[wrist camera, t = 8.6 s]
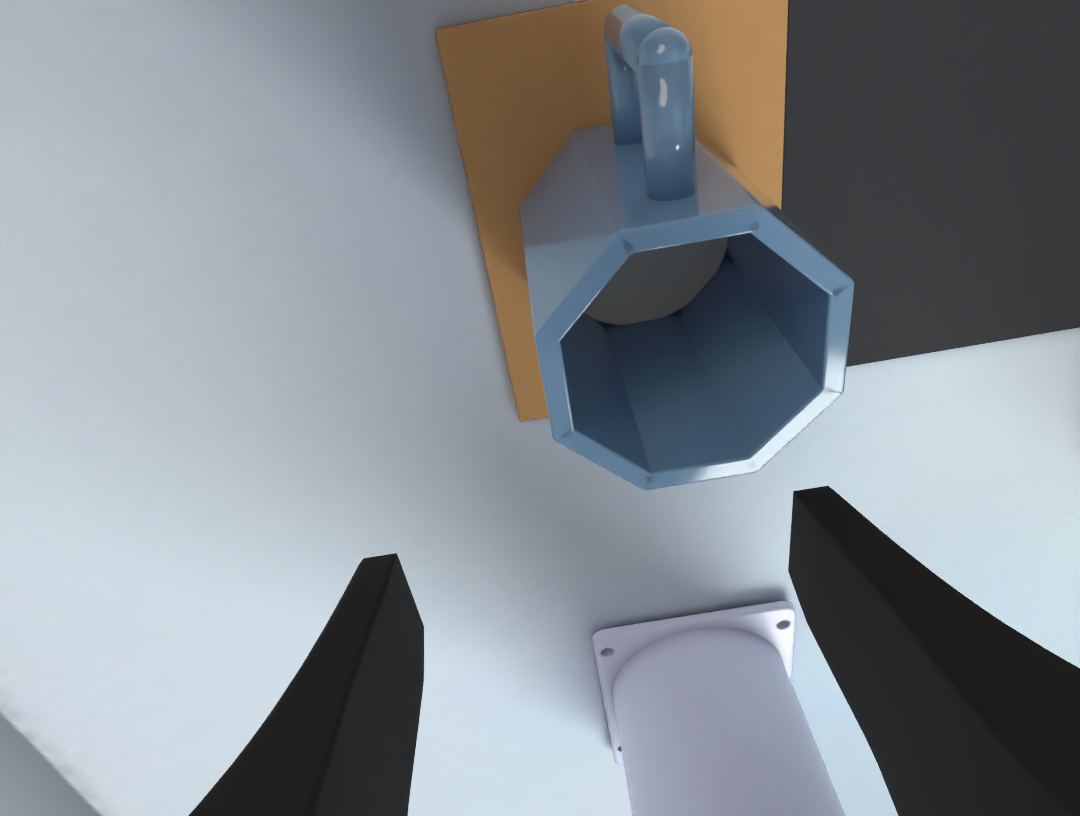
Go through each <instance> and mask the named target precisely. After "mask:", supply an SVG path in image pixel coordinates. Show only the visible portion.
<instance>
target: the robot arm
mask: <svg viewBox="0 0 1080 816" xmlns="http://www.w3.org/2000/svg"><path fill="white" fill-rule="evenodd" d="M788 571H789V574H790V577H791V580H792V583H793V585H794V588H795V591H796V594H797V597H798V600H799V602H800V605H801V607H802V610H803V613H804V615H805V618H806V621H807V623H808V625H809V627H810V629H811V631H812V633H813V635H814V637H815V639H816V641H817V643H818V645H819V647H820V649H821V651H822V653H823V655H824V657H825V659H826V661H827V663H828V665H829V667H830V669H831V671H832V673H833V675H834V677H835V679H836V681H837V683H838V685H839V687H840V688H841V690H842V692H843V694H844V696H845V698H846V700H847V702H848V704H849V706H850V708H851V710H852V712H853V714H854V716H855V718H856V720H857V722H858V724H859V726H860V727H861V729H862V731H863V733H864V735H865V737H866V739H867V742H868V744H869V746H870V748H871V750H872V752H873V754H874V757H875V759H876V761H877V763H878V766H879V768H880V770H881V773H882V776H883V778H884V781H885V783H886V786H887V788H888V791H889V793H890V796H891V798H892V801H893V803H894V806H895V808H896V811H897V813H898V816H1080V668H1078V667H1076V666H1074V665H1073V664H1071V663H1069V662H1067V661H1066V660H1064V659H1062V658H1060V657H1059V656H1057V655H1055V654H1053V653H1052V652H1050V651H1048V650H1047V649H1045V648H1043V647H1042V646H1040V645H1038V644H1037V643H1035V642H1034V641H1032V640H1030V639H1029V638H1027V637H1026V636H1024V635H1022V634H1021V633H1019V632H1017V631H1016V630H1014V629H1013V628H1011V627H1009V626H1008V625H1006V624H1005V623H1003V622H1002V621H1000V620H999V619H997V618H996V617H994V616H993V615H991V614H990V613H988V612H987V611H985V610H984V609H982V608H981V607H979V606H978V605H977V604H975V603H974V602H972V601H971V600H970V599H968V598H967V597H965V596H964V595H963V594H961V593H960V592H958V591H957V590H956V589H954V588H953V587H951V586H950V585H949V584H947V583H946V582H945V581H943V580H942V579H941V578H939V577H938V576H937V575H935V574H934V573H933V572H932V571H930V570H929V569H928V568H927V567H925V566H924V565H923V564H921V563H920V562H919V561H918V560H916V559H915V558H914V557H913V556H911V555H910V554H909V553H907V552H906V551H905V550H904V549H902V548H901V547H900V546H899V545H897V544H896V543H895V542H894V541H893V540H891V539H890V538H889V537H888V536H887V535H885V534H884V533H883V532H882V531H881V530H879V529H878V528H877V527H876V526H875V525H873V524H872V523H871V522H870V521H869V520H868V519H866V518H865V517H864V516H863V515H862V514H861V513H859V512H858V511H857V510H856V509H855V508H854V507H853V506H851V505H850V504H849V503H848V502H847V501H846V500H844V499H843V498H842V497H841V496H840V495H839V494H837V493H836V492H835V491H834V490H833V489H831V488H830V487H829V486H824V487H818V488H812V489H805V490H799V491H794V493H793V508H792V524H791V539H790V554H789V569H788ZM795 622H796V611H795V609H794V607H793V604H792V603H790V602H788V601H777V602H770V603H764V604H758V605H751V606H745V607H739V608H732V609H726V610H720V611H714V612H707V613H701V614H695V615H688V616H682V617H676V618H669V619H663V620H657V621H650V622H644V623H638V624H631V625H625V626H619V627H613V628H606V629H602V630H599V631H597V632H596V633H595V634H594V635H593V646H594V651H595V657H596V662H597V667H598V673H599V678H600V684H601V689H602V695H603V700H604V705H605V711H606V716H607V722H608V727H609V732H610V738H611V743H612V749H613V754H614V760H615V762H616V763H617V764H619V765H622V766H624V768H625V774H626V780H627V786H628V792H629V798H630V804H631V810H632V816H845V814H844V811H843V809H842V806H841V804H840V801H839V799H838V797H837V794H836V792H835V789H834V787H833V784H832V782H831V779H830V777H829V774H828V772H827V769H826V767H825V764H824V762H823V760H822V757H821V755H820V752H819V750H818V747H817V745H816V742H815V740H814V737H813V735H812V732H811V730H810V728H809V725H808V723H807V720H806V718H805V715H804V713H803V710H802V708H801V705H800V703H799V700H798V698H797V696H796V693H795V691H794V688H793V686H792V683H791V682H792V667H793V652H794V637H795ZM423 682H424V626H423V623H422V620H421V618H420V615H419V612H418V610H417V607H416V604H415V601H414V599H413V596H412V593H411V591H410V588H409V585H408V583H407V580H406V577H405V574H404V572H403V569H402V566H401V564H400V561H399V558H398V556H397V553H395V554H389V555H383V556H376V557H370V558H364V559H363V560H362V561H361V563H360V564H359V566H358V568H357V570H356V571H355V573H354V575H353V577H352V579H351V581H350V583H349V585H348V586H347V588H346V590H345V592H344V594H343V596H342V598H341V599H340V601H339V603H338V605H337V607H336V608H335V610H334V612H333V614H332V616H331V617H330V619H329V621H328V623H327V624H326V626H325V628H324V630H323V631H322V633H321V635H320V636H319V638H318V640H317V641H316V643H315V645H314V646H313V648H312V650H311V651H310V653H309V655H308V656H307V658H306V660H305V661H304V663H303V665H302V666H301V668H300V669H299V671H298V672H297V674H296V675H295V677H294V678H293V680H292V681H291V683H290V684H289V686H288V688H287V689H286V691H285V692H284V694H283V695H282V697H281V698H280V700H279V701H278V703H277V704H276V706H275V707H274V709H273V710H272V711H271V713H270V714H269V716H268V717H267V719H266V720H265V721H264V723H263V724H262V726H261V727H260V728H259V730H258V731H257V732H256V734H255V735H254V736H253V738H252V739H251V740H250V742H249V743H248V744H247V746H246V747H245V748H244V750H243V751H242V752H241V753H240V755H239V756H238V757H237V759H236V760H235V761H234V762H233V764H232V765H231V766H230V767H229V769H228V770H227V771H226V772H225V773H224V775H223V776H222V777H221V778H220V779H219V781H218V782H217V783H216V784H215V785H214V787H213V788H212V789H211V790H210V791H209V793H208V794H207V795H206V796H205V797H204V799H203V800H202V801H201V802H200V803H199V805H198V806H197V807H196V808H195V809H194V810H193V811H192V812H191V814H190V815H189V816H407V815H408V803H409V795H410V787H411V780H412V772H413V764H414V756H415V748H416V740H417V732H418V724H419V716H420V707H421V699H422V691H423Z"/></svg>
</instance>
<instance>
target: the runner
mask: <svg viewBox="0 0 1080 816" xmlns="http://www.w3.org/2000/svg"><path fill="white" fill-rule="evenodd" d="M623 4H630V5H634V6H636V7H638V8H639V9H641V10H643V11H645V12H647V13H649V14H650V15H652V16H654V17H656V18H658V19H660V20H661V21H663V22H665V23H667V24H669V25H671V26H672V27H674V28H676V29H678V30H680V31H681V32H682V33H684V34H685V36H686V37H687V38H688V40H689V42H690V44H691V47H692V52H693V78H694V108H695V133H696V134H697V135H698V136H699V137H700V138H702V139H703V140H704V141H705V142H707V143H708V144H709V145H710V146H711V147H713V148H714V149H715V150H716V151H717V152H719V153H720V154H721V155H722V156H723V157H725V158H726V159H727V160H728V161H730V162H731V163H732V164H733V165H734V166H736V167H737V168H738V169H739V170H740V171H741V172H742V173H743V174H744V175H745V176H746V177H747V178H748V179H749V180H750V181H751V182H752V183H753V184H754V185H756V186H757V187H758V188H759V189H760V190H761V191H762V192H763V193H764V194H765V195H766V196H767V197H768V198H769V199H770V200H771V201H772V202H773V203H774V204H775V205H776V206H777V207H778V208H779V209H780V210H781V211H783V212H784V213H785V214H786V215H787V216H788V217H789V218H790V219H791V220H792V221H793V222H794V223H795V224H796V225H797V226H798V227H799V228H800V229H801V230H802V231H803V232H804V233H805V234H806V235H807V236H808V237H810V238H811V239H812V240H813V241H814V242H815V243H816V244H817V245H818V246H819V247H820V248H821V249H822V250H823V251H824V252H825V253H826V254H827V255H828V256H829V257H830V258H831V259H832V260H833V261H834V262H835V263H837V264H838V265H839V266H840V267H841V268H842V269H843V270H844V271H845V272H846V273H847V274H848V275H849V276H850V277H851V278H852V279H853V282H854V292H853V302H852V312H851V322H850V332H849V343H848V353H847V363H846V367H848V366H854V365H860V364H865V363H871V362H877V361H883V360H889V359H895V358H901V357H907V356H913V355H919V354H925V353H930V352H936V351H942V350H948V349H954V348H960V347H966V346H972V345H978V344H984V343H990V342H995V341H1001V340H1007V339H1013V338H1019V337H1025V336H1031V335H1037V334H1043V333H1049V332H1055V331H1060V330H1066V329H1072V328H1078V327H1080V0H587V1H582V2H576V3H571V4H566V5H561V6H555V7H550V8H545V9H539V10H534V11H529V12H524V13H518V14H513V15H508V16H502V17H497V18H492V19H487V20H481V21H476V22H471V23H465V24H460V25H455V26H450V27H444V28H439V29H436V32H435V33H436V37H437V42H438V46H439V51H440V56H441V60H442V65H443V70H444V74H445V79H446V83H447V88H448V93H449V97H450V102H451V107H452V111H453V116H454V120H455V125H456V130H457V134H458V139H459V144H460V148H461V153H462V157H463V162H464V167H465V171H466V176H467V180H468V185H469V190H470V194H471V199H472V204H473V208H474V213H475V217H476V222H477V227H478V231H479V236H480V241H481V245H482V250H483V254H484V259H485V264H486V268H487V273H488V278H489V282H490V287H491V291H492V296H493V301H494V305H495V310H496V314H497V319H498V324H499V328H500V333H501V338H502V342H503V347H504V351H505V356H506V361H507V365H508V370H509V375H510V379H511V384H512V388H513V393H514V398H515V402H516V407H517V412H518V416H519V421H520V422H523V421H528V420H534V419H540V418H546V417H549V414H548V409H547V403H546V398H545V392H544V387H543V382H542V376H541V371H540V365H539V360H538V355H537V349H536V344H535V338H534V330H533V322H532V314H531V306H530V298H529V290H528V282H527V274H526V266H525V258H524V250H523V242H522V234H521V226H520V218H519V206H520V205H521V204H522V202H523V201H524V199H525V198H526V196H527V195H528V194H529V192H530V191H531V189H532V188H533V187H534V185H535V184H536V182H537V181H538V180H539V178H540V177H541V175H542V174H543V173H544V171H545V170H546V168H547V167H548V165H549V164H550V163H551V161H552V160H553V158H554V157H555V156H556V154H557V153H558V151H559V150H560V149H561V147H562V146H563V144H564V143H565V141H566V140H567V139H568V137H569V136H570V134H571V133H572V132H573V131H575V130H576V129H581V128H586V127H592V126H597V125H603V124H608V123H612V117H611V107H610V96H609V86H608V75H607V65H606V55H605V44H604V34H603V27H604V22H605V19H606V17H607V15H608V14H609V13H610V11H611V10H613V9H614V8H615V7H617V6H619V5H623Z"/></svg>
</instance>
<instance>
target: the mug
mask: <svg viewBox="0 0 1080 816" xmlns="http://www.w3.org/2000/svg"><path fill="white" fill-rule="evenodd" d="M603 34H604V44H605V55H606V65H607V75H608V86H609V96H610V107H611V117H612V123H608V124H603V125H597V126H592V127H586V128H581V129H576V130H575V131H573V132H572V133H571V134H570V136H569V137H568V139H567V140H566V141H565V143H564V144H563V146H562V147H561V149H560V150H559V151H558V153H557V154H556V156H555V157H554V158H553V160H552V161H551V163H550V164H549V165H548V167H547V168H546V170H545V171H544V173H543V174H542V175H541V177H540V178H539V180H538V181H537V182H536V184H535V185H534V187H533V188H532V189H531V191H530V192H529V194H528V195H527V196H526V198H525V199H524V201H523V202H522V204H521V205H520V206H519V218H520V226H521V234H522V242H523V250H524V258H525V266H526V274H527V282H528V290H529V298H530V306H531V314H532V322H533V330H534V338H535V344H536V349H537V355H538V360H539V365H540V371H541V376H542V382H543V387H544V392H545V398H546V403H547V409H548V414H549V419H550V425H551V430H552V436H553V439H554V440H555V441H556V442H557V443H559V444H561V445H563V446H565V447H566V448H568V449H570V450H572V451H574V452H575V453H577V454H579V455H581V456H583V457H585V458H586V459H588V460H590V461H592V462H594V463H595V464H597V465H599V466H601V467H603V468H605V469H606V470H608V471H610V472H612V473H614V474H615V475H617V476H619V477H621V478H623V479H625V480H626V481H628V482H630V483H632V484H634V485H635V486H637V487H639V488H641V489H643V490H644V489H645V490H650V489H657V488H663V487H669V486H675V485H681V484H687V483H693V482H699V481H705V480H711V479H718V478H724V477H730V476H736V475H742V474H748V473H754V472H756V471H758V470H760V469H761V468H762V467H763V466H764V465H765V464H766V463H767V462H768V461H769V460H770V459H772V458H773V457H774V456H775V455H776V454H777V453H778V452H779V451H780V450H781V449H783V448H784V447H785V446H786V445H787V444H788V443H789V442H790V441H791V440H792V439H793V438H795V437H796V436H797V435H798V434H799V433H800V432H801V431H802V430H803V429H804V428H805V427H807V426H808V425H809V424H810V423H811V422H812V421H813V420H814V419H815V418H816V417H817V416H819V415H820V414H821V413H822V412H823V411H824V410H825V409H826V408H827V407H828V406H829V405H831V404H832V403H833V402H834V401H835V400H836V399H837V398H838V397H839V396H840V395H841V394H842V392H843V391H844V383H845V373H846V363H847V353H848V343H849V332H850V322H851V312H852V302H853V292H854V282H853V279H852V278H851V277H850V276H849V275H848V274H847V273H846V272H845V271H844V270H843V269H842V268H841V267H840V266H839V265H838V264H837V263H835V262H834V261H833V260H832V259H831V258H830V257H829V256H828V255H827V254H826V253H825V252H824V251H823V250H822V249H821V248H820V247H819V246H818V245H817V244H816V243H815V242H814V241H813V240H812V239H811V238H810V237H808V236H807V235H806V234H805V233H804V232H803V231H802V230H801V229H800V228H799V227H798V226H797V225H796V224H795V223H794V222H793V221H792V220H791V219H790V218H789V217H788V216H787V215H786V214H785V213H784V212H783V211H781V210H780V209H779V208H778V207H777V206H776V205H775V204H774V203H773V202H772V201H771V200H770V199H769V198H768V197H767V196H766V195H765V194H764V193H763V192H762V191H761V190H760V189H759V188H758V187H757V186H756V185H754V184H753V183H752V182H751V181H750V180H749V179H748V178H747V177H746V176H745V175H744V174H743V173H742V172H741V171H740V170H739V169H738V168H737V167H736V166H734V165H733V164H732V163H731V162H730V161H728V160H727V159H726V158H725V157H723V156H722V155H721V154H720V153H719V152H717V151H716V150H715V149H714V148H713V147H711V146H710V145H709V144H708V143H707V142H705V141H704V140H703V139H702V138H700V137H699V136H698V135H697V134H696V133H695V108H694V78H693V52H692V47H691V44H690V42H689V40H688V38H687V37H686V36H685V34H684V33H682V32H681V31H680V30H678V29H676V28H674V27H672V26H671V25H669V24H667V23H665V22H663V21H661V20H660V19H658V18H656V17H654V16H652V15H650V14H649V13H647V12H645V11H643V10H641V9H639V8H638V7H636V6H634V5H630V4H623V5H619V6H617V7H615V8H614V9H613V10H611V11H610V13H609V14H608V15H607V17H606V19H605V22H604V27H603Z"/></svg>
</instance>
